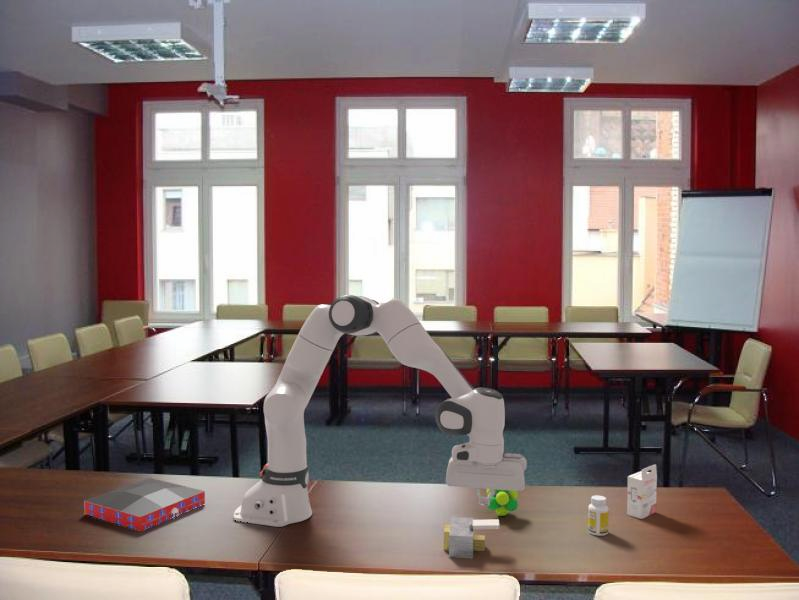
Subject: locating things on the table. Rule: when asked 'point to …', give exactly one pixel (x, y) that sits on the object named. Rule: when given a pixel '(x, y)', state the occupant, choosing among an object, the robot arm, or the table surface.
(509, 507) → the molecule model
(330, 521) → the table surface
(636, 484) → the ink cartridge box
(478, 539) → the lynch pin
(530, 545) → the table surface
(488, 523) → the bar
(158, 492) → the building model
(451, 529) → the block
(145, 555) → the table surface
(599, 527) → the supplement bottle
